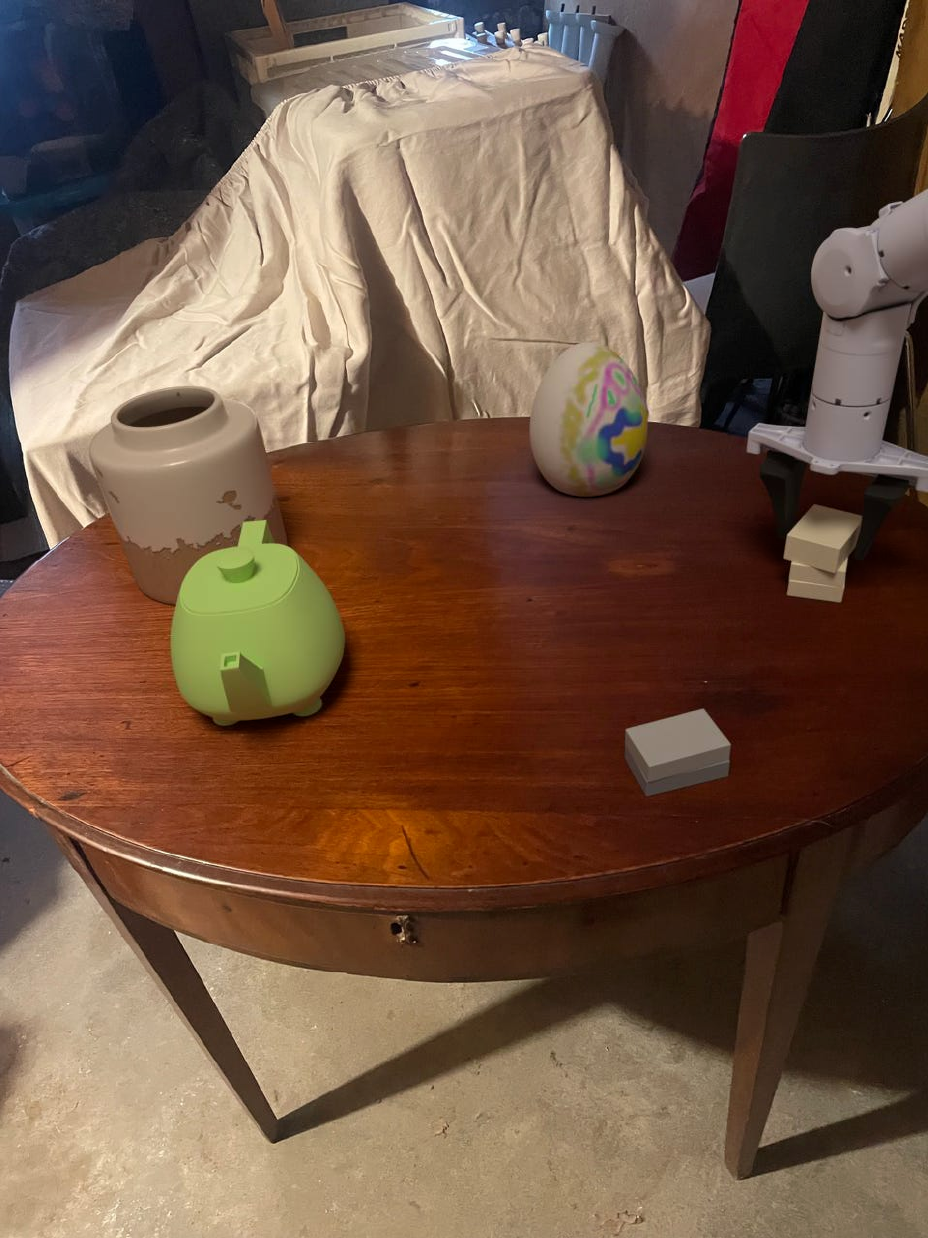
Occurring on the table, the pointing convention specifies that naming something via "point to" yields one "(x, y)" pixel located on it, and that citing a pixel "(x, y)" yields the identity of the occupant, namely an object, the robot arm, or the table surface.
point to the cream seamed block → (816, 582)
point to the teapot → (254, 632)
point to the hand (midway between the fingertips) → (822, 543)
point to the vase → (182, 481)
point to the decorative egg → (588, 422)
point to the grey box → (677, 752)
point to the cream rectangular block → (823, 538)
